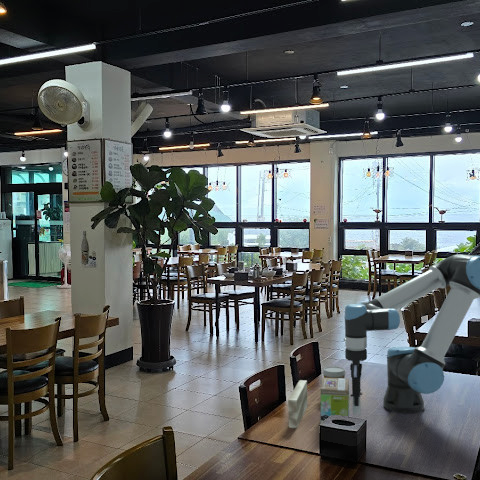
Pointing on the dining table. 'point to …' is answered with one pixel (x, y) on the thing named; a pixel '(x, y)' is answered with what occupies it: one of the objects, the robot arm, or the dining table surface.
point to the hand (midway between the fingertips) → (356, 413)
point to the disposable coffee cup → (334, 372)
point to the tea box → (334, 397)
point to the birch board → (297, 404)
